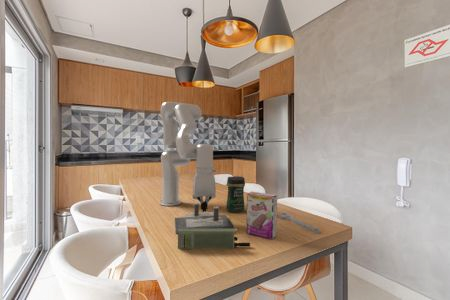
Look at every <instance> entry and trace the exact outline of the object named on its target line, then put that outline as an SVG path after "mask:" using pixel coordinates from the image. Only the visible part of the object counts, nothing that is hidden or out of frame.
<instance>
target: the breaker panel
mask: <svg viewBox="0 0 450 300" xmlns="http://www.w3.org/2000/svg"><path fill="white" fill-rule="evenodd" d="M213 219H214V211H208V212H207V211H206V212H205V211H204V212H199V215H198V216H194V212H191V213H190V212H189V213H184V216H182V217H175V218H174V227H175V231H174V232H175V234H176V235H178V229H235V225H234V224H233V223H232V221H231V220H230V218H229V217H228V216H227V215H226V214H219V220H215V221H213Z"/></svg>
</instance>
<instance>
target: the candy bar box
mask: <svg viewBox="0 0 450 300" xmlns="http://www.w3.org/2000/svg"><path fill="white" fill-rule="evenodd" d="M277 216H278V195H277V194H272V193H264V192H259V191H250V192H248V193H247V194H246V225H245V226H246V230H245V231H246V234H248V235H252V236H256V237H260V238H263V239H268V240H273V239H274V238H275V237H277V223H278V222H277V221H278V220H277V218H278V217H277Z"/></svg>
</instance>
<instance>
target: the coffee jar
mask: <svg viewBox="0 0 450 300" xmlns="http://www.w3.org/2000/svg"><path fill="white" fill-rule="evenodd" d="M226 185H227V198H226V199H227V200H226V205H225V206H226V211H227V212H229V213H240V212H242V213H243V212H244V211H245V198H244V196H245V195H244V191H245V185H246V179H245V177H243V176H241V175H240V176H239V175H237V176H228V177H227V181H226Z"/></svg>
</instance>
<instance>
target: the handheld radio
mask: <svg viewBox="0 0 450 300" xmlns="http://www.w3.org/2000/svg"><path fill="white" fill-rule="evenodd" d="M237 235H238V229H237V228H234V229H178V234H177V249H179V250H234V249H235V247H236V248H237V247H238V248H239V247H244V248H245V247H249V248H250V247H251V242H235V241H238V238H239V237H237Z"/></svg>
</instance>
